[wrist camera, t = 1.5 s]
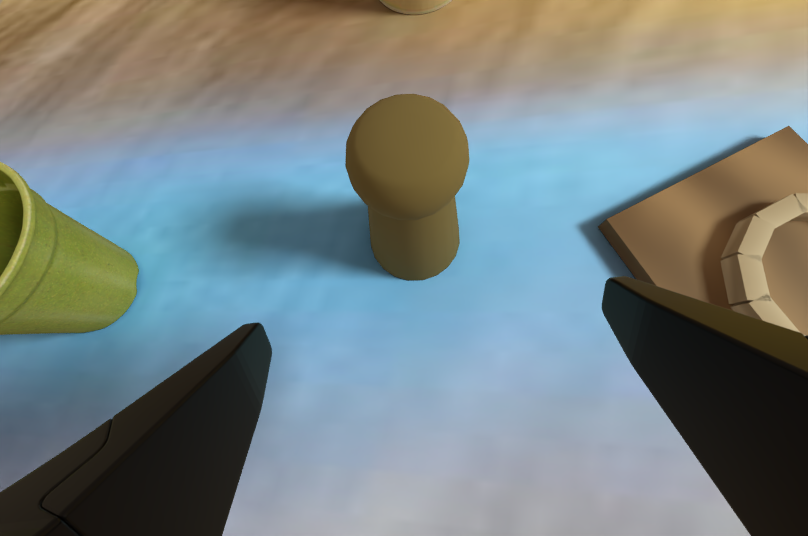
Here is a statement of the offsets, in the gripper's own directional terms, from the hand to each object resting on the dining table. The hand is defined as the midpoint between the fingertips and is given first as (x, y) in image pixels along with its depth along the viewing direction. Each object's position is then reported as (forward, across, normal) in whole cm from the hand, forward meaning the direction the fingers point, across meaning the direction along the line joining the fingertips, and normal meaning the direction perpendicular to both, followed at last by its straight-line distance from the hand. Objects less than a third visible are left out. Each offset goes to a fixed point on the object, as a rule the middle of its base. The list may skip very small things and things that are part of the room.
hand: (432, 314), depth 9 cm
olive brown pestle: (+14, 0, +4) cm, 15 cm away
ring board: (+10, -21, +8) cm, 25 cm away
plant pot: (+14, +22, +5) cm, 27 cm away
